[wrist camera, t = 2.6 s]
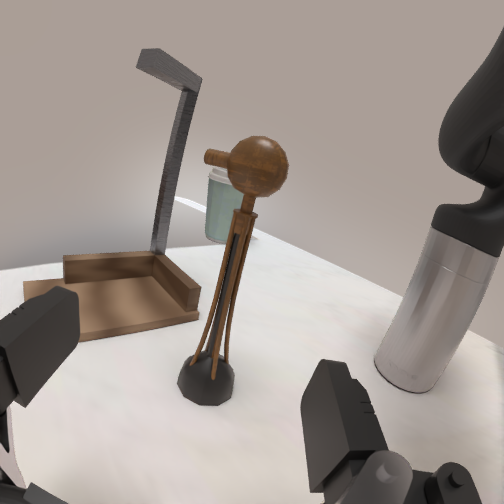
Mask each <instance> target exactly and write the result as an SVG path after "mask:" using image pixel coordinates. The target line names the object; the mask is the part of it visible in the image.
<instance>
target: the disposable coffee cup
mask: <svg viewBox="0 0 504 504" xmlns="http://www.w3.org/2000/svg"><path fill="white" fill-rule="evenodd" d="M208 177H209V184H208V197H207V210H206V224H205V233H206V237H207V238H208V239H209V240H211V241H214V242H217V243H222V244H226V243H227V239H228V234H229V230H230V226H231V222H232V217H233V213H234V212H233V210H234V209H240V208H241V204H242V200H243V196H244V194H242V193H241V192H239V191H238V190H236V189H234V188H233V186H232V184H231V182H230V180H229V178H228V174H227V169H223V168H219V167H215V166H214V167H213V170H212V171H211V172H210V173H209V176H208ZM233 237H234V236H233Z"/></svg>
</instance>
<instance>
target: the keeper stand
mask: <svg viewBox="0 0 504 504" xmlns="http://www.w3.org/2000/svg"><path fill="white" fill-rule="evenodd" d="M136 68H138V69H140V70H142V71H144V72H146V73H148V74H150V75H152V76H154V77H156V78H158V79H160V80H162V81H164V82H166V83H168V84H170V85H172V86H174V87H176V88H177V89H179V90H181V91H182V93H181V97H180V101H179V104H178V108H177V112H176V116H175V120H174V124H173V128H172V132H171V137H170V141H169V146H168V150H167V155H166V159H165V164H164V169H163V174H162V179H161V184H160V190H159V196H158V201H157V207H156V213H155V220H154V227H153V233H152V240H151V248H150V251H137V252H119V253H100V254H82V255H64V256H63V278H61V279H49V280H36V281H23V287H24V301H27V300H28V299H30V298H33V297H36V296H39V295H42V294H45V293H46V292H48V291H49V290H50V289H52V288H53V287H55V286H61V287H63V288H66V289H68V290H71V291H74V292H76V293H77V294H78V297H79V316H80V338H79V342H82V341H88V340H95V339H101V338H107V337H113V336H118V335H124V334H129V333H135V332H140V331H145V330H151V329H156V328H161V327H166V326H171V325H176V324H180V323H185V322H190V321H194V320H198V318H199V312H198V311H197V308H198V302H199V297H200V292H201V286H199V285H198V284H197V283H196V282H195V281H194V280H193V279H191V278H190V277H189V276H188V275H187V274H186V273H185V272H183V271H182V270H181V269H180V268H179V267H178V266H177V265H176V264H174V263H173V262H172V261H171V260H170V259H169V258H168V257H167V256H166V255H165V249H166V243H167V236H168V230H169V224H170V218H171V213H172V207H173V202H174V196H175V191H176V186H177V181H178V176H179V171H180V167H181V162H182V157H183V153H184V149H185V144H186V139H187V136H188V131H189V127H190V123H191V120H192V115H193V112H194V107H195V104H196V100H197V97H198V93H199V90H200V86H201V83H202V78H201V77H199V76H198V75H196V74H195V73H194V72H192V71H191V70H190V69H188V68H187V67H186V66H184V65H183V64H181V63H180V62H178V61H177V60H175V59H174V58H173V57H171V56H170V55H168V54H167V53H165V52H164V51H162V50H161V49H142V50H141V53H140V56H139V59H138V63H137V66H136Z"/></svg>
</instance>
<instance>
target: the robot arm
mask: <svg viewBox="0 0 504 504" xmlns="http://www.w3.org/2000/svg"><path fill="white" fill-rule="evenodd" d="M439 151H440V154H441V157H442V158H443V160H444V162H445V163H446V164H447V165H448V166H449V167H450V168H452V169H453V170H455V171H456V172H458V173H460V174H462V175H464V176H466V177H468V178H470V179H472V180H474V181H476V182H478V183H480V184H483V185H484V186H485V189H484V192H483V194H482V197H481V198H480V200H478V201H477V202H474V203H470V204H463V205H461V204H442V205H439V206H438V208H437V209H436V211H435V214H434V217H433V220H432V223H431V226H432V227H430V230H429V233H428V236H427V239H426V241H425V244H424V247H423V250H422V253H421V256H420V258H419V261H418V264H417V266H416V269H415V271H414V274H413V276H412V279H411V281H410V283H409V286H408V288H407V291H406V293H405V295H404V297H403V300H402V302H401V304H400V306H399V309H398V311H397V313H396V315H395V317H394V319H393V321H392V323H391V325H390V328H389V329H388V331H387V333H386V335H385V337H384V339H383V341H382V343H381V345H380V347H379V349H378V351H377V353H376V355H375V364H376V366H377V368H378V370H379V371H380V373H381V374H382V375H383V376H384V377H385V378H386V379H387V380H389V381H390V382H391V383H393V384H394V385H396V386H398V387H400V388H402V389H404V390H407V391H411V392H419V393H421V392H426V391H428V390H430V389H431V388H432V387H433V386H434V384H435V383H436V381H437V380H438V378H439V377H440V375H441V374H442V372H443V371H444V369H445V367H446V366H447V364H448V363H449V361H450V360H451V358H452V356H453V355H454V353H455V351H456V349H457V348H458V346H459V344H460V342H461V341H462V339H463V337H464V335H465V333H466V331H467V330H468V328H469V326H470V324H471V322H472V320H473V318H474V316H475V314H476V312H477V309H478V307H479V305H480V303H481V301H482V299H483V297H484V294H485V292H486V290H487V287H488V285H489V282H490V280H491V277H492V275H493V272H494V270H495V267H496V264H497V262H498V259H499V258H498V257H499V256H500V254H501V251H502V248H503V246H504V28H503V30H502V31H501V33H500V36H499V37H498V39H497V41H496V43H495V45H494V47H493V48H492V50H491V52H490V54H489V55H488V57H487V58H486V59H485V61H484V62H483V64H482V65H481V66H480V68H479V69H478V70H477V71H476V73H475V74H474V75H473V76H472V78H471V79H470V80H469V82H468V83H467V84H466V85H465V86H464V88H463V89H462V90H461V91H460V93H459V94H458V95H457V97H456V98H455V99H454V101H453V102H452V104H451V105H450V107H449V109H448V111H447V113H446V115H445V117H444V120H443V122H442V125H441V128H440V133H439ZM79 338H80V316H79V297H78V294H77V293H76V292H74V291H71V290H68V289H66V288H63V287H61V286H55V287H53V288H52V289H50V290H49V291H48V292H46V293H45V294H42V295H39V296H36V297H33V298H30V299H28V300H27V301H25V302H24V303H23V304H21V305H20V306H19V308H18V307H17V308H16V309H15V310H13V311H12V313H11V314H10V313H9V314H8V315H7V316H5V317H4V318H3V319H1V320H0V504H68V503H66V502H65V501H63V500H61V499H59V498H57V497H55V496H54V495H52V494H50V493H48V492H47V491H45V490H43V489H42V488H40V487H38V486H37V485H35V484H33V483H32V482H31V483H30V485H29V487H28V489H26V485H25V482H24V479H23V476H22V474H21V471H20V469H19V467H18V465H17V461H16V457H15V449H14V441H13V430H12V415H11V408H10V406H9V405H10V404H11V403H12V402H13V400H14V401H15V402H17V403H18V404H20V405H21V406H23V407H25V408H26V407H27V405H28V404H29V403H30V401H31V400H32V399H33V398H34V396H35V395H36V394H37V393H38V391H39V390H40V389H41V388H42V387H43V385H44V384H45V383H46V382H47V380H48V379H49V378H50V377H51V376H52V374H53V373H54V372H55V371H56V370H57V369H58V367H59V366H60V365H61V364H62V363H63V362H64V360H65V359H66V358H67V357H68V356H69V355H70V353H71V352H72V351H73V350H74V349H75V348H76V346H77V344H78V342H79ZM374 413H375V411H374V409H373V406H372V405H371V401H370V398H369V396H368V393H367V391H366V389H365V388H364V387H363V386H362V385H361V384H360V383H359V381H358V380H357V379H352V378H351V375H350V372H349V370H348V367H347V365H346V363H345V362H339V361H332V360H326V359H322V360H321V361H320V362H319V363H318V365H317V367H316V369H315V371H314V373H313V376H312V378H311V380H310V382H309V384H308V386H307V388H306V389H305V391H304V394H303V396H302V400H301V418H302V426H303V434H304V442H305V451H306V459H307V468H308V477H309V487H310V493H324V499H325V500H324V501H323V502H322V503H321V504H482V502H481V500H480V497H479V494H478V492H477V489H476V487H475V484H474V482H473V480H472V477H471V475H470V473H469V472H468V470H467V469H466V468H464V467H463V466H462V465H460V464H458V463H453V462H449V463H445V464H443V465H442V466H441V467H440V468H439V469H438V470H437V471H436V472H435V473H430V472H423V471H417V470H412V469H411V466H410V464H409V463H408V461H407V460H406V459H405V458H404V457H402V456H401V455H399V454H398V453H395V452H392V451H389V449H388V447H387V444H386V441H385V438H384V435H383V433H382V430H381V427H380V425H379V422H378V419H377V417H376V415H374Z"/></svg>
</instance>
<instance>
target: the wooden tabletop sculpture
mask: <svg viewBox="0 0 504 504" xmlns="http://www.w3.org/2000/svg"><path fill="white" fill-rule="evenodd" d="M204 162H205V164H208V165H213V166H217V167H221V168H225V169H227V174H228V178H229V180H230V182H231V184H232V186H233V188H234V189H236V190H238V191H239V192H241V193H242V194H244V196H243V200H242V204H241V208H240V209H234V210H233V212H234V213H233V217H232V222H231V226H230V230H229V234H228V239H227V243H226V248H225V252H224V256H223V261H222V265H221V269H220V274H219V278H218V282H217V286H216V290H215V295H214V299H213V302H212V306H211V309H210V313H209V316H208V320H207V323H206V326H205V329H204V332H203V335H202V338H201V341H200V343H199V346H198V348H197V350H196V353H195V355H193V356H190V357H188V359H187V360H186V361H185V362H184V364H183V367H182V369H181V372H180V374H179V377H178V381H177V385H178V387H179V388H180V390H181V392H182V394H183V396H184V397H186V398H187V399H189V400H191V401H193V402H195V403H197V404H198V405H212V406H218V405H220V404H222V403H223V402H225V401H226V400H228V399H230V398H231V394H232V390H233V384H234V376H235V375H234V372H233V369H232V367H231V366H230V365H229V362H228V353H229V338H230V329H231V322H232V317H233V311H234V306H235V300H236V296H237V292H238V287H239V283H240V279H241V274H242V270H243V266H244V262H245V258H246V254H247V250H248V246H249V242H250V238H251V235H252V231H253V226H254V222H255V219H256V218H257V217H258V214H256V213H254V212H252V211H253V207H254V203H255V199H256V197H269V196H270V195H272V194H273V193H275V192H276V191H278V190H279V189H280V188H281V186H282V185H283V183H284V182H285V180H286V179H287V174H288V167H289V164H288V160H287V157H286V153H285V151H284V150H283V149H282V148H281V146H280V145H279V144H278V143H277V142H276V141H274V140H272V139H269V138H267V137H265V136H251V137H249V138H246V139H244V140H242V141H240V142H239V143H238V144H237V145H236V146H235V147H234V148H233V149H232V151H231V153H228V152H224V151H219V150H214V149H208V150H207V151H206V153H205V155H204ZM233 236H234V237H233ZM230 249H231V250H230ZM229 253H230V254H229ZM227 262H228V263H227ZM226 266H227V267H226ZM225 270H226V271H225ZM224 274H225V275H224ZM223 278H224V280H223ZM222 283H223V284H222ZM221 287H222V288H221ZM220 291H221V293H220ZM219 295H220V297H219ZM218 299H219V301H218ZM230 300H231V301H230ZM217 302H218V305H217ZM229 304H230V307H229ZM216 306H217V309H216ZM228 308H229V312H228ZM215 309H216V313H215V317H214V321H213V325H212V328H211V332H210V336H209V339H208V342H207V346H206V349H205V351H202V352H201V350H202V348H203V345H204V343H205V340H206V337H207V334H208V332H209V329H210V326H211V323H212V319H213V316H214V312H215ZM227 312H228V318H227V324H226V334H225V343H224V357H223V356H222V355H220V354H219V351H220V346H221V341H222V335H223V330H224V325H225V321H226V316H227Z"/></svg>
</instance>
